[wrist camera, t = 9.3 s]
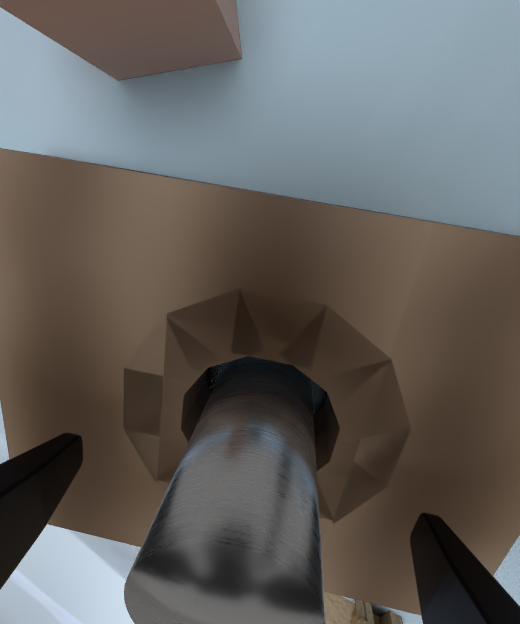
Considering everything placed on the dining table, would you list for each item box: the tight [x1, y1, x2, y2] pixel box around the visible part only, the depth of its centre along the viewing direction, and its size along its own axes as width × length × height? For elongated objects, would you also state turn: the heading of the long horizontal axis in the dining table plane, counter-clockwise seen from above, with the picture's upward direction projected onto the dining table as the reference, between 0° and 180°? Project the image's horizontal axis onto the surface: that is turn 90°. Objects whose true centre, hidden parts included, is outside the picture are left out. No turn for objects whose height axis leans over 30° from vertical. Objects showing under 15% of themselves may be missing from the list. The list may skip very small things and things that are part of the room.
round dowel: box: [124, 356, 326, 624], centre depth 9 cm, size 4×4×8 cm
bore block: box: [0, 148, 520, 615], centre depth 12 cm, size 18×14×3 cm
